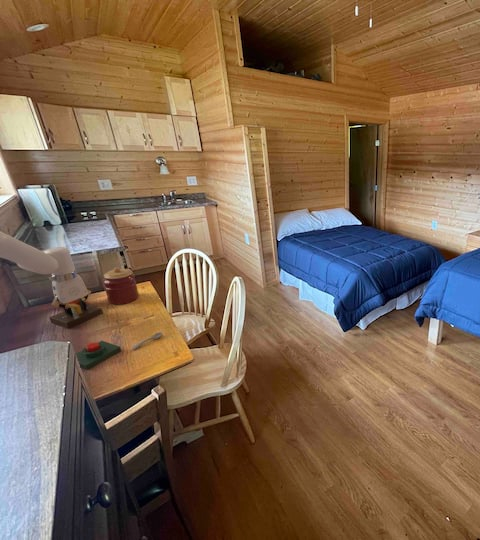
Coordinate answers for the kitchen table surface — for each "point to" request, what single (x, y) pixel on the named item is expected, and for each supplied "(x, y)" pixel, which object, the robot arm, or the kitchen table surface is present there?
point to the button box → (97, 355)
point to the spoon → (147, 340)
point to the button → (92, 347)
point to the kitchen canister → (120, 286)
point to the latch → (75, 308)
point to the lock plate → (76, 317)
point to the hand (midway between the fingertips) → (76, 311)
